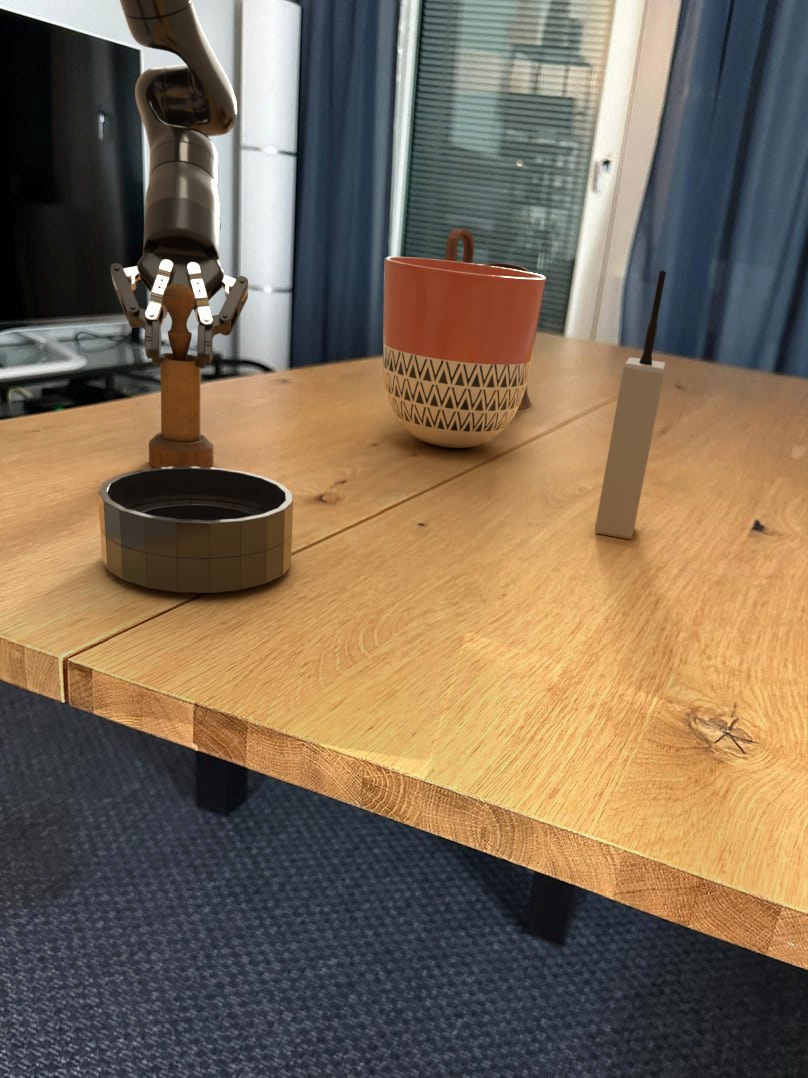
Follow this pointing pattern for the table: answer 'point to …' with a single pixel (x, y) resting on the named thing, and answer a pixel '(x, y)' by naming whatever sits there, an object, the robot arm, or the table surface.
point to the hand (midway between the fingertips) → (178, 361)
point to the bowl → (195, 528)
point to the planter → (457, 346)
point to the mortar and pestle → (180, 393)
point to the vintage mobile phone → (631, 435)
